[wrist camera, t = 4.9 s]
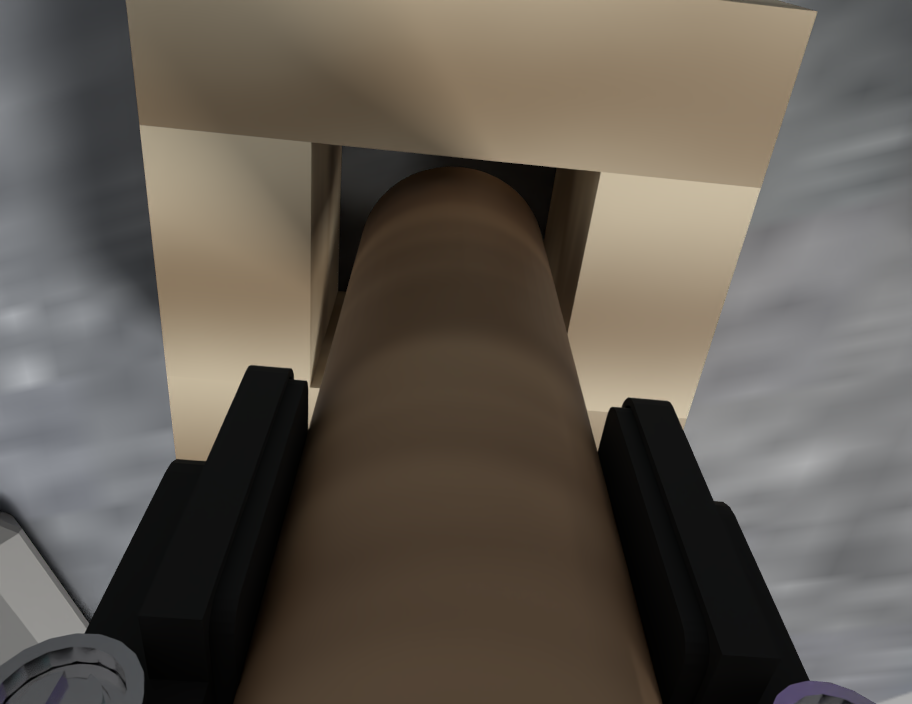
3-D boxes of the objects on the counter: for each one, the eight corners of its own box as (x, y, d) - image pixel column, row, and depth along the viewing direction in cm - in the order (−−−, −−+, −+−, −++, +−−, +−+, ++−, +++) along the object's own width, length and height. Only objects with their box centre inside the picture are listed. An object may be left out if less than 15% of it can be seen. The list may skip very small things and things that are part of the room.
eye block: (203, -76, 17) (118, -71, 12) (726, -14, 17) (817, 11, 13) (230, 375, 23) (178, 484, 18) (616, 407, 23) (654, 519, 19)
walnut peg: (364, 156, 15) (35, 1097, 3) (557, 177, 15) (910, 1129, 4) (356, 326, 17) (140, 1285, 5) (528, 342, 18) (685, 1295, 6)
